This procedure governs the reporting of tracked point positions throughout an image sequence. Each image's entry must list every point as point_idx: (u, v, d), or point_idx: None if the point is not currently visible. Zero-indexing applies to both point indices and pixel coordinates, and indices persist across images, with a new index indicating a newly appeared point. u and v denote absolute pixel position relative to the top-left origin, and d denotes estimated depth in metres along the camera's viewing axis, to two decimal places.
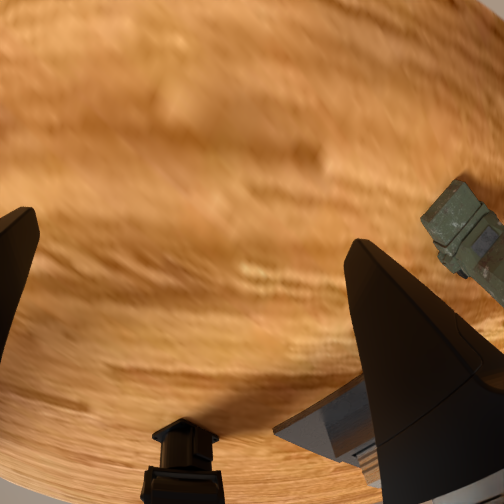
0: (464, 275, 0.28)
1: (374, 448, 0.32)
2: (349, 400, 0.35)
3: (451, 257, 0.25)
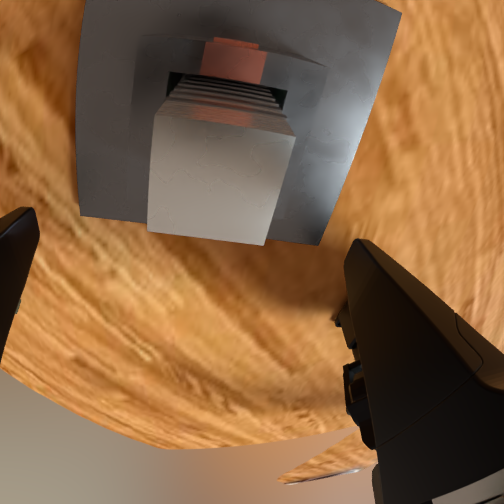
0: None
1: None
2: None
3: None
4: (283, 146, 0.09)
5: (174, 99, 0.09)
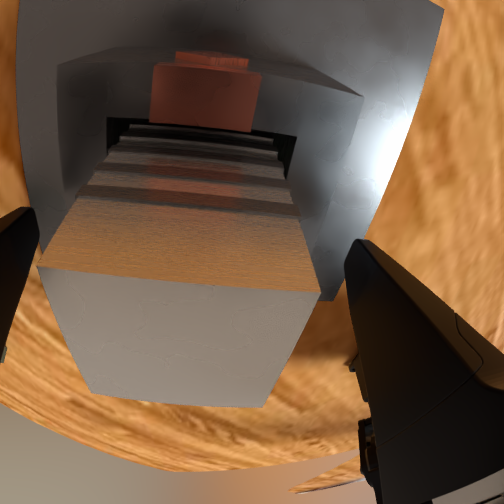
0: None
1: None
2: None
3: None
4: (294, 308, 0.05)
5: (92, 193, 0.05)
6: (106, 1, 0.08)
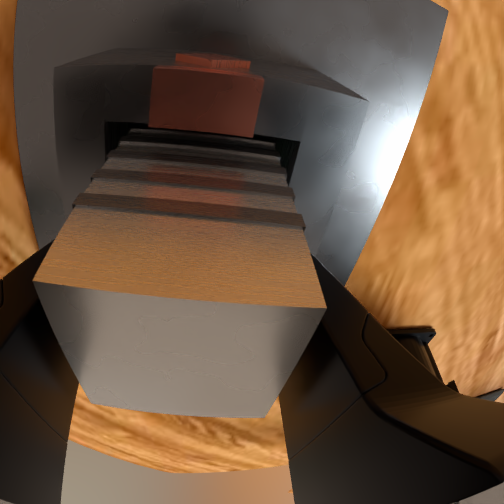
0: None
1: None
2: None
3: None
4: (299, 323, 0.04)
5: (89, 203, 0.05)
6: (105, 2, 0.08)
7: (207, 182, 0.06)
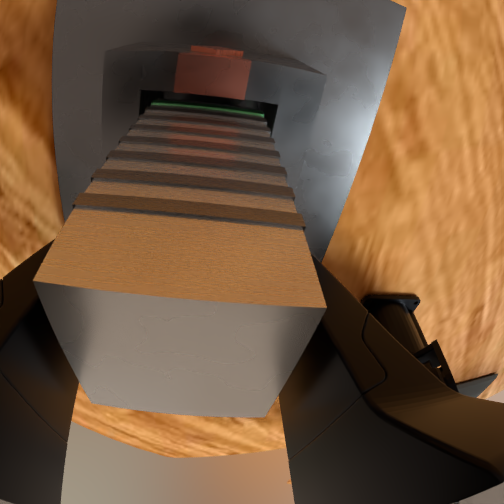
0: None
1: None
2: None
3: None
4: (299, 323, 0.04)
5: (90, 203, 0.05)
6: (132, 5, 0.11)
7: (207, 182, 0.06)
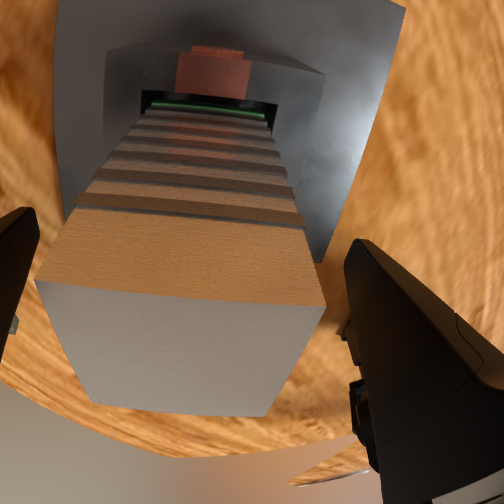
0: None
1: None
2: None
3: None
4: (299, 322, 0.04)
5: (90, 202, 0.05)
6: (132, 6, 0.11)
7: (208, 182, 0.06)
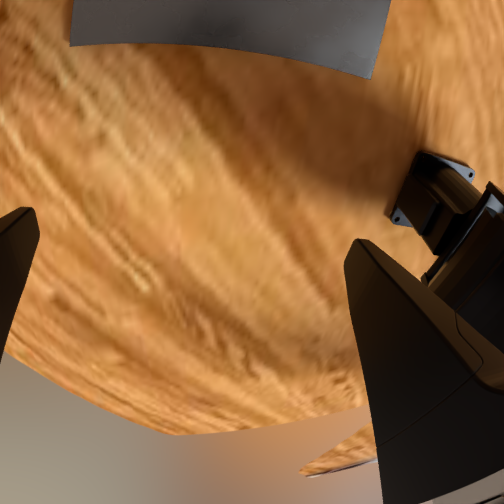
0: None
1: None
2: (200, 13, 0.13)
3: None
4: None
5: None
6: None
7: None
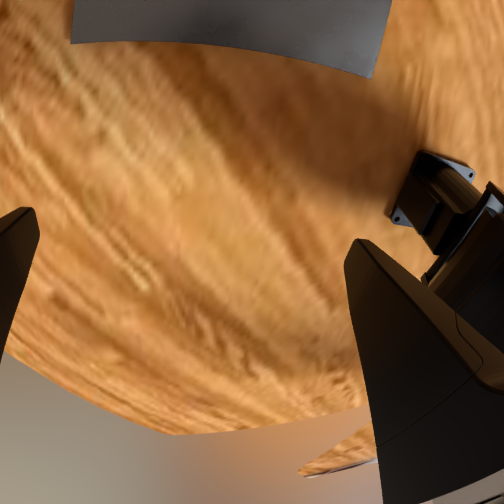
0: None
1: None
2: (202, 11, 0.13)
3: None
4: None
5: None
6: None
7: None
